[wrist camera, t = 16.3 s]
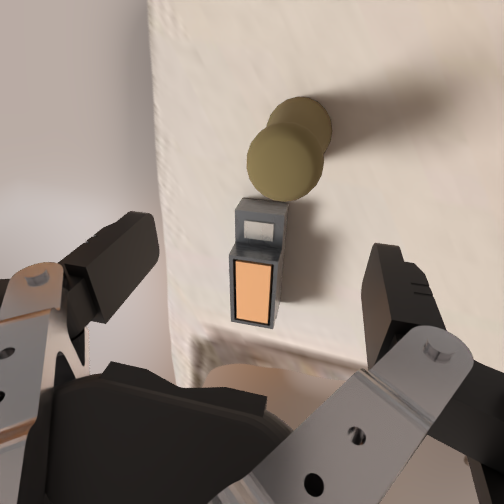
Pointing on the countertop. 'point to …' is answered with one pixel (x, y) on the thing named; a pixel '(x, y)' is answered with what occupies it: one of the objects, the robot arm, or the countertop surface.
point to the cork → (290, 150)
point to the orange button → (253, 290)
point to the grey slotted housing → (259, 247)
